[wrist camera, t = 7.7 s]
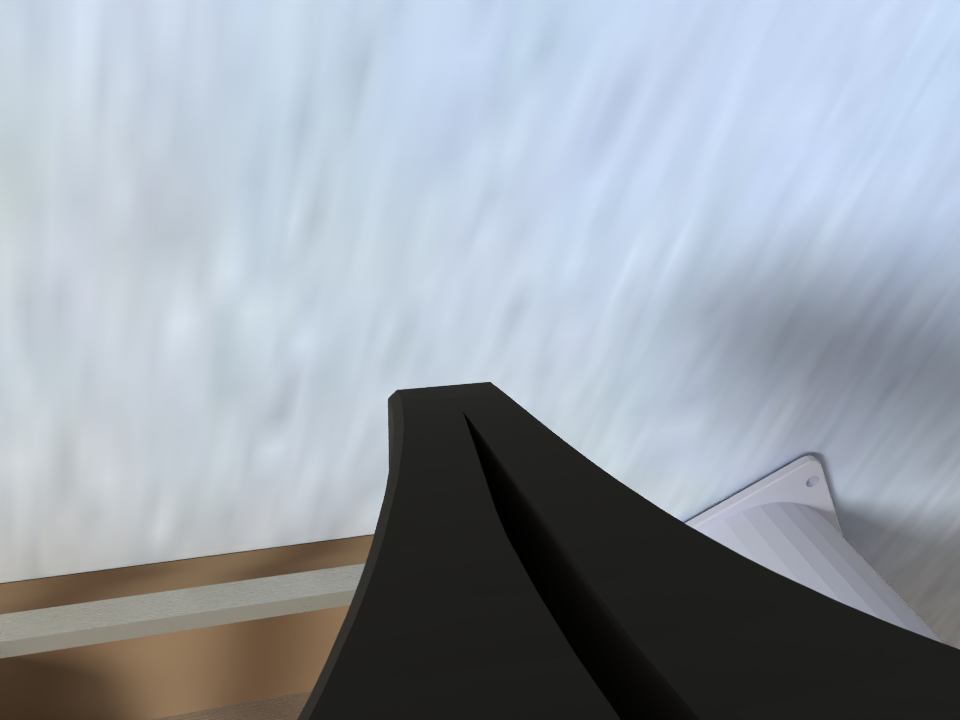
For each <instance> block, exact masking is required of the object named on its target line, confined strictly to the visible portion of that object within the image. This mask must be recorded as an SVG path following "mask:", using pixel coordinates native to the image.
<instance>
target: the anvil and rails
mask: <svg viewBox="0 0 960 720" xmlns="http://www.w3.org/2000/svg"><path fill="white" fill-rule="evenodd" d="M364 566H365V563H364V564H357V565H350V566H343V567H336V568H329V569H322V570H314V571H307V572H300V573H293V574H286V575H279V576H272V577H264V578H257V579H250V580H243V581H236V582H229V583H222V584H215V585H207V586H200V587H193V588H186V589H179V590H172V591H165V592H157V593H150V594H143V595H136V596H129V597H122V598H115V599H108V600H100V601H93V602H86V603H79V604H72V605H65V606H58V607H50V608H43V609H36V610H29V611H22V612H15V613H8V614H1V615H0V658H7V657H13V656H20V655H26V654H33V653H39V652H46V651H53V650H59V649H66V648H72V647H79V646H85V645H92V644H98V643H105V642H112V641H118V640H125V639H131V638H138V637H144V636H151V635H157V634H164V633H171V632H177V631H184V630H190V629H197V628H203V627H210V626H216V625H223V624H230V623H236V622H243V621H249V620H256V619H262V618H269V617H275V616H282V615H289V614H295V613H302V612H308V611H315V610H321V609H328V608H334V607H341V606H348V605H350V604H351V602H352V599H353V596H354V594H355V591H356V589H357V586H358V583H359V581H360V578H361V575H362V572H363V569H364ZM311 692H312V691H308V692H303V693H297V694H291V695H286V696H280V697H275V698H269V699H263V700H258V701H252V702H246V703H241V704H235V705H229V706H224V707H218V708H212V709H207V710H201V711H195V712H190V713H184V714H179V715H173V716H167V717H162V718H156V719H150V720H297V719H298V717H299V715H300V713H301V712H302V710H303V708H304V706H305V704H306V702H307V700H308V698H309V696H310V694H311Z"/></svg>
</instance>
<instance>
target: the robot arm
mask: <svg viewBox="0 0 960 720" xmlns="http://www.w3.org/2000/svg"><path fill="white" fill-rule="evenodd" d="M388 428H389V474H388V480H387V486H386V491H385V496H384V500H383V504H382V508H381V511H380V515H379V519H378V523H377V526H376V530H375V534H374V538H373V541H372V545H371V548H370V551H369V554H368V557H367V560H366V563H365V566H364V569H363V572H362V575H361V578H360V581H359V583H358V586H357V589H356V591H355V594H354V596H353V599H352V602H351V604H350V607H349V610H348V612H347V615H346V617H345V619H344V622H343V624H342V626H341V628H340V631H339V633H338V635H337V638H336V640H335V642H334V645H333V647H332V649H331V652H330V654H329V656H328V658H327V661H326V663H325V665H324V667H323V669H322V671H321V674H320V676H319V678H318V680H317V682H316V684H315V686H314V688H313V690H312V692H311V694H310V696H309V698H308V700H307V702H306V704H305V706H304V708H303V710H302V712H301V713H300V715H299V717H298V719H297V720H960V650H959V649H957V648H954V647H951V646H949V645H946V644H945V643H944V642H943V641H942V640H941V639H940V638H939V637H938V636H937V635H936V634H935V633H934V632H933V631H932V630H931V629H930V628H929V626H928V625H927V624H926V623H925V622H924V621H923V620H922V619H921V618H920V617H919V616H918V615H917V614H916V613H915V612H914V611H913V610H912V609H911V608H910V607H909V606H908V605H907V603H906V602H905V601H904V600H903V599H902V598H901V597H900V596H899V595H898V594H897V593H896V592H895V591H894V590H893V589H892V588H891V587H890V586H889V585H888V584H887V583H886V582H885V581H884V579H883V578H882V577H881V576H880V575H879V574H878V573H877V572H876V571H875V570H874V569H873V568H872V567H871V566H870V565H869V564H868V563H867V562H866V561H865V560H864V559H863V558H862V556H861V555H860V554H859V553H858V552H857V551H856V550H855V549H854V548H853V547H852V546H851V545H850V544H849V543H848V542H847V541H846V540H845V539H844V537H843V534H842V531H841V528H840V524H839V521H838V518H837V514H836V511H835V508H834V505H833V501H832V498H831V495H830V492H829V488H828V485H827V482H826V478H825V475H824V472H823V469H822V465H821V464H820V462H819V461H818V460H817V459H816V458H815V457H813V456H811V455H809V456H804V457H801V458H799V459H797V460H796V461H794V462H792V463H790V464H789V465H787V466H785V467H783V468H781V469H780V470H778V471H776V472H774V473H773V474H771V475H769V476H767V477H766V478H764V479H762V480H760V481H758V482H757V483H755V484H753V485H751V486H750V487H748V488H746V489H744V490H743V491H741V492H739V493H737V494H735V495H734V496H732V497H730V498H728V499H727V500H725V501H723V502H721V503H720V504H718V505H716V506H714V507H712V508H711V509H709V510H707V511H705V512H704V513H702V514H700V515H698V516H697V517H695V518H693V519H691V520H689V521H688V522H686V523H683V522H682V521H680V520H678V519H677V518H675V517H673V516H672V515H670V514H668V513H667V512H665V511H664V510H662V509H660V508H659V507H657V506H656V505H654V504H653V503H651V502H650V501H648V500H647V499H645V498H644V497H642V496H641V495H639V494H638V493H636V492H635V491H633V490H632V489H630V488H629V487H627V486H626V485H624V484H623V483H621V482H620V481H618V480H617V479H615V478H614V477H612V476H611V475H610V474H608V473H607V472H605V471H604V470H603V469H601V468H600V467H598V466H597V465H596V464H594V463H593V462H592V461H590V460H589V459H587V458H586V457H585V456H583V455H582V454H581V453H579V452H578V451H577V450H575V449H574V448H573V447H572V446H570V445H569V444H568V443H566V442H565V441H564V440H562V439H561V438H560V437H559V436H557V435H556V434H555V433H553V432H552V431H551V430H550V429H548V428H547V427H546V426H545V425H543V424H542V423H541V422H540V421H538V420H537V419H536V418H535V417H533V416H532V415H531V414H530V413H528V412H527V411H526V410H525V409H524V408H522V407H521V406H520V405H519V404H517V403H516V402H515V401H514V400H513V399H511V398H510V397H509V396H508V395H506V394H505V393H504V392H503V391H501V390H500V389H499V388H497V387H496V386H495V385H493V384H492V383H491V382H484V383H472V384H461V385H449V386H438V387H426V388H415V389H403V390H397V391H395V392H394V393H393V394H392V395H391V396H390V397H389V398H388Z"/></svg>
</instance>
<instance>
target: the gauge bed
mask: <svg viewBox="0 0 960 720" xmlns="http://www.w3.org/2000/svg"><path fill="white" fill-rule="evenodd" d="M373 538H374V535H369V536H362V537H354V538H347V539H339V540H331V541H324V542H316V543H309V544H301V545H293V546H286V547H278V548H271V549H263V550H255V551H248V552H240V553H233V554H225V555H217V556H210V557H202V558H195V559H187V560H179V561H172V562H164V563H157V564H149V565H141V566H134V567H126V568H119V569H111V570H104V571H96V572H88V573H81V574H73V575H66V576H58V577H50V578H43V579H35V580H28V581H20V582H12V583H5V584H0V615H1V614H8V613H15V612H22V611H29V610H36V609H43V608H50V607H58V606H65V605H72V604H79V603H86V602H93V601H100V600H108V599H115V598H122V597H129V596H136V595H143V594H150V593H157V592H165V591H172V590H179V589H186V588H193V587H200V586H207V585H215V584H222V583H229V582H236V581H243V580H250V579H257V578H264V577H272V576H279V575H286V574H293V573H300V572H307V571H314V570H322V569H329V568H336V567H343V566H350V565H357V564H364V563H366V560H367V557H368V554H369V551H370V548H371V545H372V541H373ZM349 607H350V605H348V606H341V607H334V608H328V609H321V610H315V611H308V612H302V613H295V614H289V615H282V616H275V617H269V618H262V619H256V620H249V621H243V622H236V623H230V624H223V625H216V626H210V627H203V628H197V629H190V630H184V631H177V632H171V633H164V634H157V635H151V636H144V637H138V638H131V639H125V640H118V641H112V642H105V643H98V644H92V645H85V646H79V647H72V648H66V649H59V650H53V651H46V652H39V653H33V654H26V655H20V656H13V657H7V658H0V720H150V719H156V718H162V717H167V716H173V715H179V714H184V713H190V712H195V711H201V710H207V709H212V708H218V707H224V706H229V705H235V704H241V703H246V702H252V701H258V700H263V699H269V698H275V697H280V696H286V695H291V694H297V693H303V692H308V691H312V690H313V688H314V686H315V684H316V682H317V680H318V678H319V676H320V674H321V671H322V669H323V667H324V665H325V663H326V661H327V658H328V656H329V654H330V652H331V649H332V647H333V645H334V642H335V640H336V638H337V635H338V633H339V631H340V628H341V626H342V624H343V622H344V619H345V617H346V615H347V612H348V610H349Z"/></svg>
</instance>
